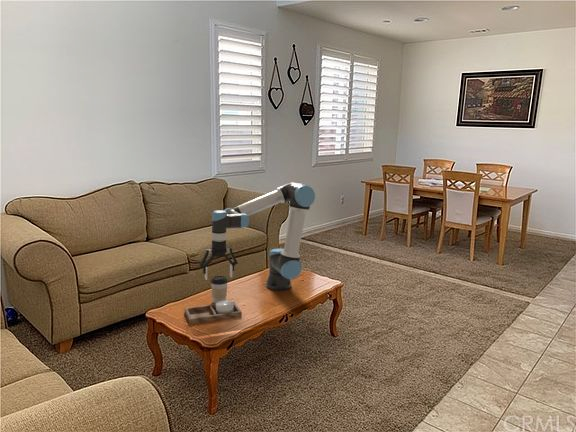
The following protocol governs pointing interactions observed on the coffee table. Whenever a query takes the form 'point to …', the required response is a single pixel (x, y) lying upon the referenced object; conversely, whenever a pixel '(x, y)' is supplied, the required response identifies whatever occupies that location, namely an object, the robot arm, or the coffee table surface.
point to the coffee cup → (219, 288)
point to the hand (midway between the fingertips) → (218, 278)
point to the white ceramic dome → (224, 307)
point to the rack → (209, 313)
